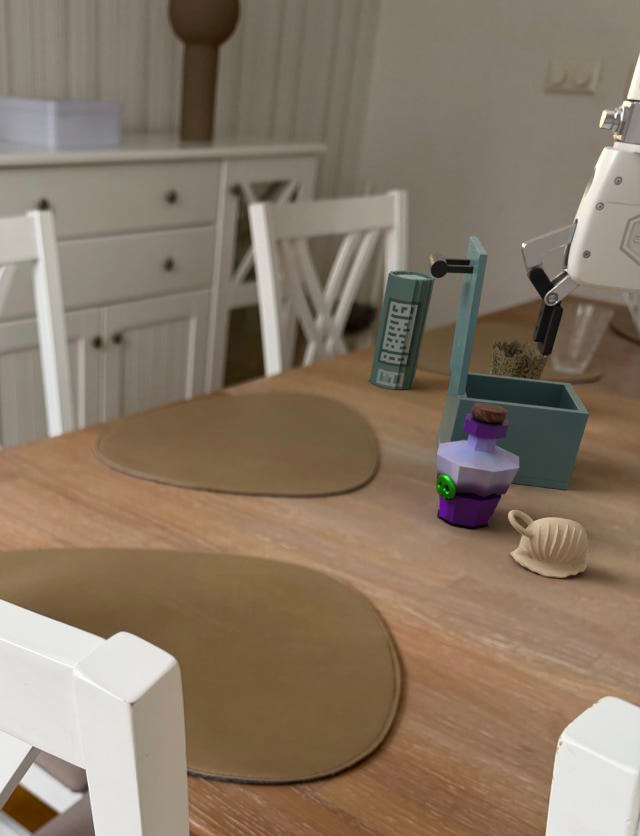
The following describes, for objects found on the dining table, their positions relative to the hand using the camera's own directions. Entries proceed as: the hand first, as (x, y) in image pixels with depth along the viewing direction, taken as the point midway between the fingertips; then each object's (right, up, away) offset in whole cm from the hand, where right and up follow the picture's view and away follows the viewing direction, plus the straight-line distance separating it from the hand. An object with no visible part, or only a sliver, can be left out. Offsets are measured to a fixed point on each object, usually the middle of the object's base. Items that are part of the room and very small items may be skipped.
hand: (601, 358), depth 83 cm
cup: (+11, +9, +54) cm, 56 cm away
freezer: (+3, -3, +33) cm, 34 cm away
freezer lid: (-3, +12, +25) cm, 28 cm away
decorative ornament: (-1, -17, +11) cm, 20 cm away
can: (-4, +13, +59) cm, 61 cm away
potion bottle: (-6, -11, +19) cm, 23 cm away
